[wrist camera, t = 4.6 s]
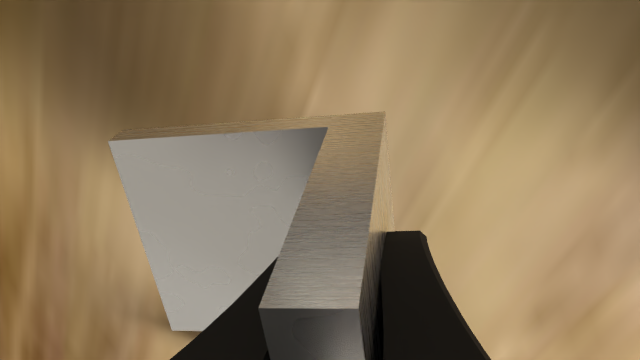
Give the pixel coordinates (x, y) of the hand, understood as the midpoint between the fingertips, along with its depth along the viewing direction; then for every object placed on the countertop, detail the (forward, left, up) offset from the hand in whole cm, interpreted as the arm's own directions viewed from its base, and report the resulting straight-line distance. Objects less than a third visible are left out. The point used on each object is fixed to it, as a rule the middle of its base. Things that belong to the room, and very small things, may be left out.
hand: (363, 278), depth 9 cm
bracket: (0, +2, -2) cm, 3 cm away
